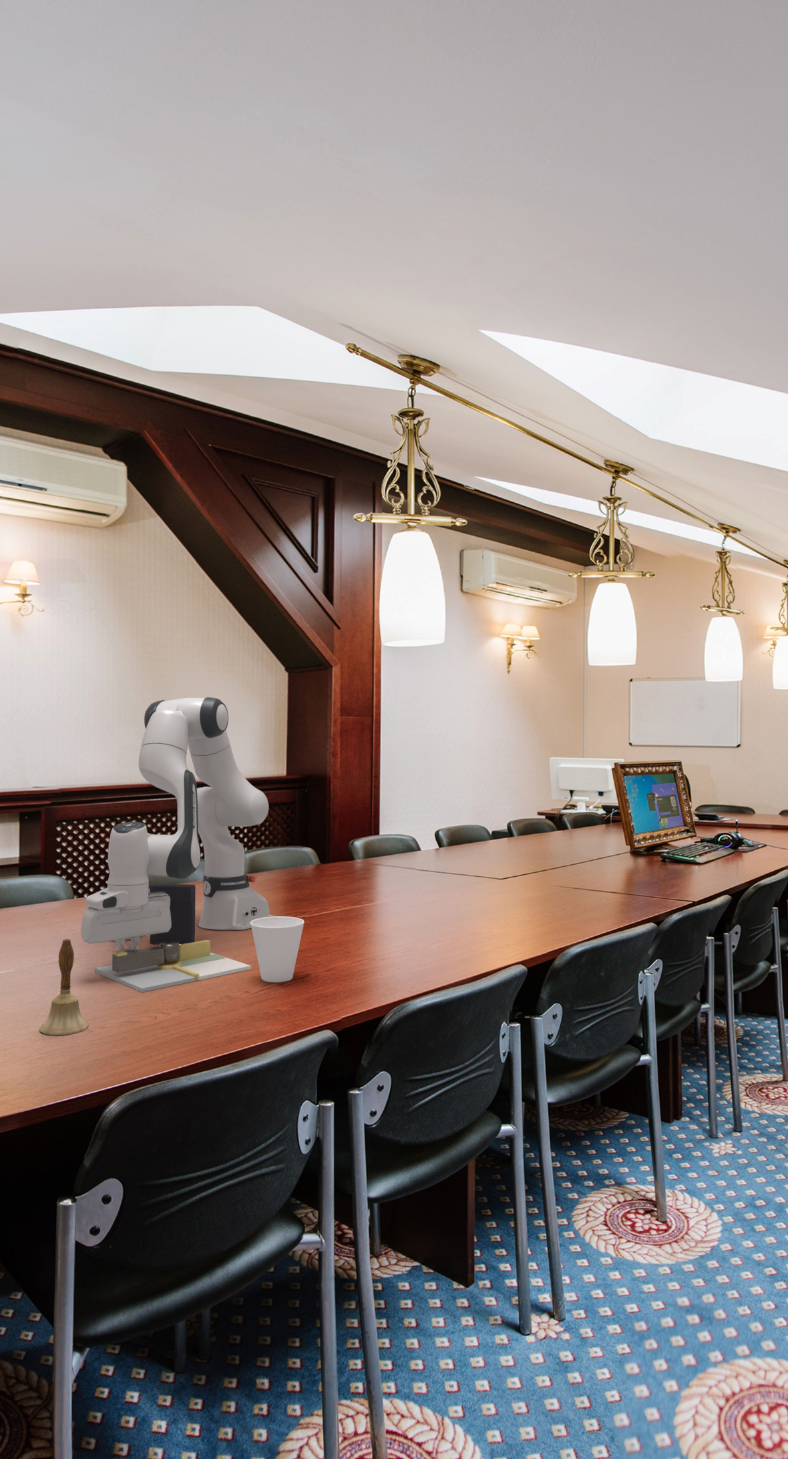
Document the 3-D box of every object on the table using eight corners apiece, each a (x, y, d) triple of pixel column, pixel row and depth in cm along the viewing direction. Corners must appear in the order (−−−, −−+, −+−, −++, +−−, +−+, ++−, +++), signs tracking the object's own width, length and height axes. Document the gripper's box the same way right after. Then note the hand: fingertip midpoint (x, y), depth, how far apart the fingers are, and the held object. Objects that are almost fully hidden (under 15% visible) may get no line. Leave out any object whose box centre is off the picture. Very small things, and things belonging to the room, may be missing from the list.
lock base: (199, 952, 214) (199, 934, 214) (250, 969, 198) (251, 949, 198) (94, 971, 195) (94, 952, 195) (141, 992, 179) (142, 971, 179)
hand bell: (94, 1020, 161) (95, 934, 161) (80, 1035, 153) (81, 945, 153) (49, 1021, 161) (50, 934, 161) (32, 1036, 152) (33, 945, 153)
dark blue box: (196, 942, 225) (196, 884, 225) (190, 945, 220) (191, 886, 221) (155, 940, 226) (155, 883, 226) (148, 944, 221) (149, 885, 222)
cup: (294, 987, 184) (294, 928, 184) (241, 983, 186) (241, 925, 186) (310, 972, 195) (311, 917, 195) (260, 969, 198) (261, 915, 198)
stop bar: (172, 957, 200) (173, 940, 200) (182, 961, 197) (182, 943, 197) (110, 969, 189) (110, 950, 189) (119, 973, 186) (120, 954, 186)
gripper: (163, 888, 204) (162, 948, 203) (78, 899, 189) (77, 962, 189) (176, 892, 199) (176, 952, 199) (91, 902, 185) (90, 968, 185)
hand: (127, 957), depth 194 cm, fingers closed
